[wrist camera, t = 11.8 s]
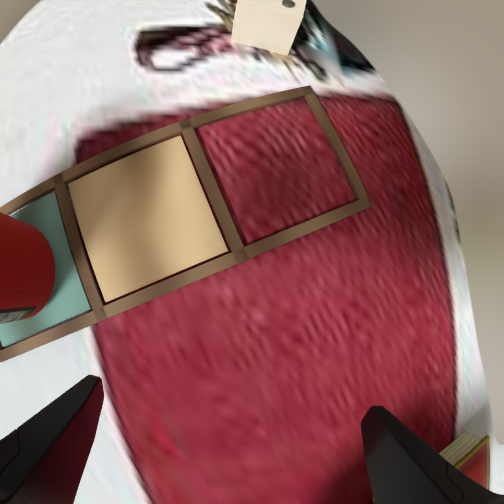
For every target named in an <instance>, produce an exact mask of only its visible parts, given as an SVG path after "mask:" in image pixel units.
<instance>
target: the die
mask: <svg viewBox="0 0 504 504" xmlns="http://www.w3.org/2000/svg"><path fill="white" fill-rule="evenodd" d="M305 5H306V0H238V1H237V5H236V11H235V18H234V24H233V31H232V37H231V42H235V43H240V44H244V45H249V46H253V47H257V48H261V49H265V50H269V51H273V52H276V53H280V54H284V55H287V56H288V53H289V51H290V48H291V46H292V43H293V41H294V38H295V36H296V33H297V31H298V28H299V26H300V23H301V21H302V18H303V14H304V9H305Z"/></svg>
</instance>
